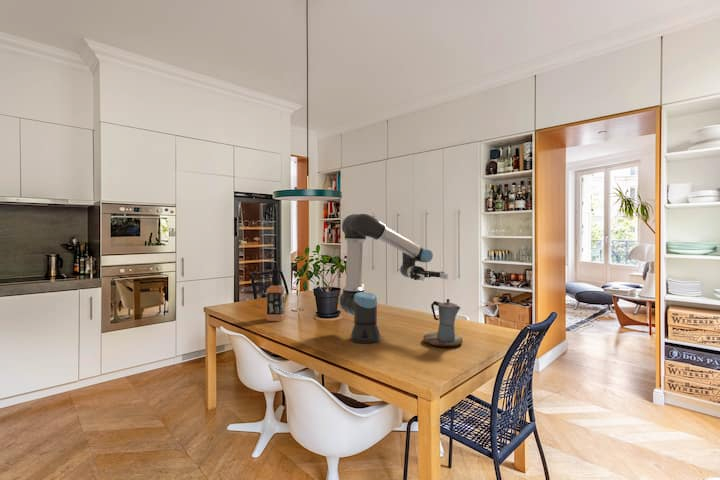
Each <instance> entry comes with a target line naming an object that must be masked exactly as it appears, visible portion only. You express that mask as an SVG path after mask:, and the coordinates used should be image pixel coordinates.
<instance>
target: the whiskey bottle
mask: <svg viewBox="0 0 720 480" xmlns="http://www.w3.org/2000/svg"><path fill="white" fill-rule="evenodd" d="M284 292H285V287H284V286H282V285H281V284H280V277H279V268H272V277H271V285H270V286H269V287H267V288H266V294H267V296H266V298H267V301H266V307H267V308H266V309H267V310H266V314H265V315H266V317H265V318H266V322H283V321H284V320H285V319H286V311H285V293H284Z"/></svg>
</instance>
